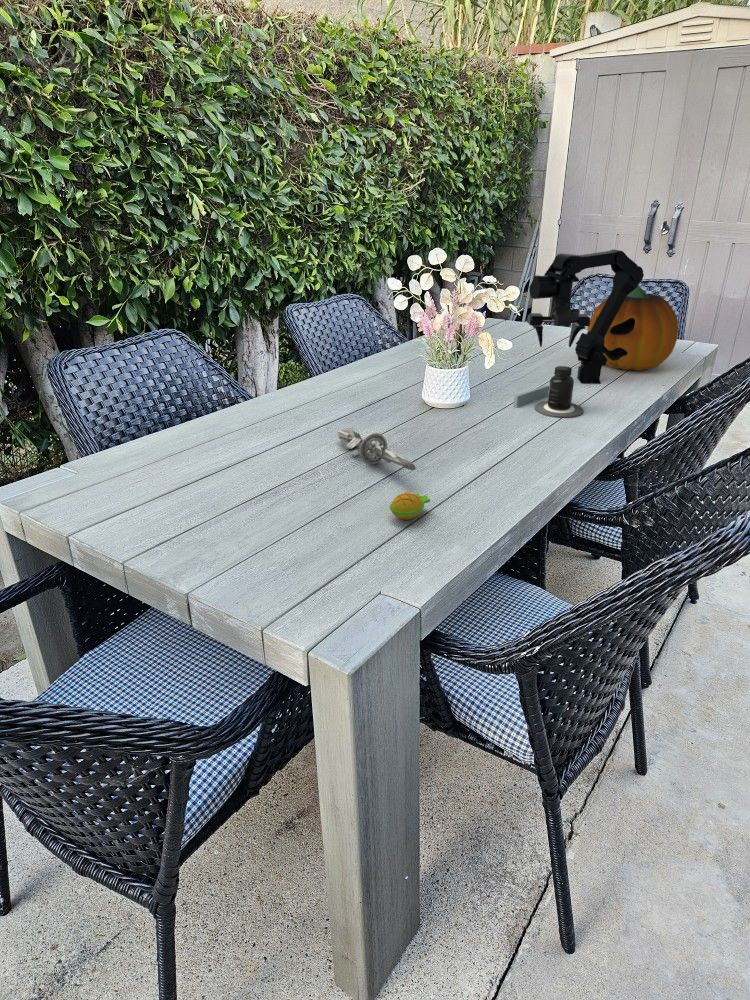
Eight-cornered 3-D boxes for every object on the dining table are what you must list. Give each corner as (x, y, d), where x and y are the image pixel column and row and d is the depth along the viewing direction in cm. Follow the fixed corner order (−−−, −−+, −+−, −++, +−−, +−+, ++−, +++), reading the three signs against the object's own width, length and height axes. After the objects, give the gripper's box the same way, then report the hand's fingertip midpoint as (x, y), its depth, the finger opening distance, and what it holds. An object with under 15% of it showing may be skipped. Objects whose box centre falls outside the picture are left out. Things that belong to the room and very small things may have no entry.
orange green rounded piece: (382, 520, 142) (382, 497, 139) (408, 502, 149) (409, 479, 147) (410, 529, 138) (411, 505, 136) (435, 510, 146) (436, 487, 143)
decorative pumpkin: (566, 359, 254) (577, 276, 241) (627, 351, 265) (641, 271, 252) (623, 381, 230) (639, 289, 216) (688, 371, 241) (707, 283, 228)
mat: (577, 402, 210) (577, 400, 209) (588, 418, 197) (588, 416, 197) (531, 401, 210) (531, 399, 210) (539, 417, 198) (539, 415, 197)
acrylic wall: (544, 395, 216) (546, 384, 214) (548, 396, 215) (549, 385, 213) (513, 406, 206) (514, 395, 205) (516, 407, 206) (517, 396, 204)
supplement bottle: (559, 402, 208) (564, 363, 202) (575, 408, 203) (581, 369, 197) (542, 406, 205) (546, 366, 199) (558, 412, 199) (563, 372, 194)
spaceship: (395, 462, 149) (422, 443, 151) (321, 429, 177) (345, 413, 179) (408, 491, 153) (434, 471, 155) (333, 454, 181) (356, 438, 183)
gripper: (535, 301, 205) (530, 352, 212) (598, 302, 205) (590, 353, 212) (529, 294, 215) (524, 344, 222) (589, 295, 215) (582, 344, 222)
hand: (555, 346), depth 219 cm, fingers open, 9 cm apart
